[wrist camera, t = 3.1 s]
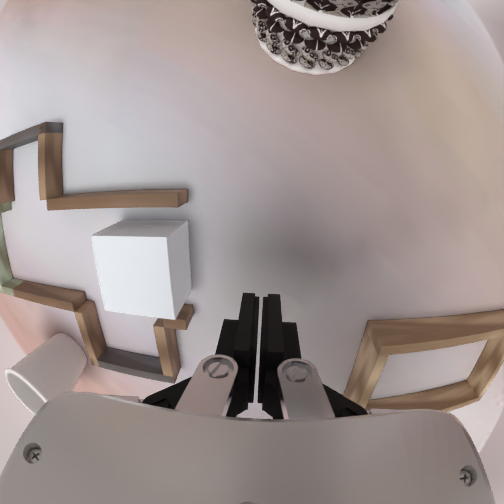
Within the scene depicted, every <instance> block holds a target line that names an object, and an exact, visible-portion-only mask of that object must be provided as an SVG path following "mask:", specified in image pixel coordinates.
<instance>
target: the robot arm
mask: <svg viewBox="0 0 504 504" xmlns="http://www.w3.org/2000/svg"><path fill="white" fill-rule="evenodd" d="M258 316H259V297H256V296H255V293H243V296H242V302H241V308H240V314H239V320H229V319H224V321H223V325H222V329H221V333H220V337H219V341H218V345H217V349H216V354H215V355H211V356H208V357H206V358H204V359H203V360H202V361H201V362H200V363H199V365H198V367H197V369H196V371H195V372H194V374H193V376H192V377H190V378H188V379H186V380H183V381H181V382H179V383H177V384H175V385H173V386H170V387H168V388H166V389H163V390H161V391H159V392H157V393H154V394H152V395H150V396H148V397H146V398H145V399H140V398H139V397H135V396H117V395H105V394H97V393H90V392H65V393H60V394H57V395H55V396H53V397H52V398H50V399H49V400H48V401H47V402H46V403H45V404H44V405H43V406H42V407H41V408H40V410H39V411H38V412H37V413H36V415H35V416H34V417H33V419H32V420H31V422H30V423H29V425H28V426H27V428H26V429H25V431H24V432H23V434H22V436H21V438H20V439H19V441H18V443H17V444H16V446H15V448H14V450H13V452H12V454H11V456H10V458H9V460H8V461H7V464H6V466H5V467H4V469H3V472H2V474H1V476H0V504H495V501H494V497H493V493H492V490H491V487H490V484H489V481H488V478H487V475H486V472H485V469H484V466H483V464H482V461H481V458H480V456H479V454H478V452H477V449H476V447H475V445H474V443H473V441H472V439H471V437H470V435H469V434H468V432H467V430H466V429H465V427H464V426H463V424H462V423H461V422H460V421H459V420H458V419H457V418H456V417H455V416H454V415H452V414H450V413H448V412H444V411H440V410H431V409H411V410H395V409H373V408H372V409H371V410H370V411H366V410H365V409H364V408H363V407H362V406H360V405H358V404H357V403H355V402H353V401H351V400H350V399H348V398H346V397H344V396H343V395H341V394H339V393H338V392H336V391H334V390H333V389H331V388H329V387H328V386H326V385H324V384H323V383H322V382H321V380H320V377H319V375H318V372H317V370H316V368H315V366H314V365H313V364H312V363H310V362H309V361H306V360H304V359H301V353H300V346H299V339H298V332H297V325H296V323H291V322H282V314H281V301H280V294H268V297H263V310H262V326H261V342H260V363H259V383H258V403H263V404H262V410H264V411H265V412H267V413H268V414H269V415H270V416H271V419H254V418H238V414H240V413H241V412H243V411H245V410H248V403H253V399H254V384H255V368H256V352H257V335H258Z"/></svg>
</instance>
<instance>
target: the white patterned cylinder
mask: <svg viewBox="0 0 504 504" xmlns="http://www.w3.org/2000/svg"><path fill="white" fill-rule="evenodd" d="M400 1H401V0H251V2H253V3H254V5H253V7H252V10H251V13H252V15H253V17H254V18H253V24H254V26H255V27H256V28H255V32H256V35H257V38H258V40H259V43H260V46H261V48H262V49H263V50H264V51H265V52H266V53H267V54H268V55H269V56H270V57H271V58H272V59H273V60H274V61H275V62H277V63H279V64H281V65H283V66H285V67H287V68H289V69H290V70H292V71H294V72H300V73H306V74H311V75H322V74H330V73H336V72H338V71H340V70H342V69H343V68H345V67H347V66H349V65H350V64H352V63H353V61H354V59H355V58H359V57H360V56H361V52H360V50H361V51H366V50H367V49H368V42H374V41H375V40H376V38H377V33H383V32H384V31H385V30H386V22H385V21H389V20H391V19H392V18H393V12H394V10H395V9H396V7H397V5H398V4H399V2H400ZM367 41H368V42H367Z"/></svg>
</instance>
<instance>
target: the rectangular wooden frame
mask: <svg viewBox="0 0 504 504" xmlns="http://www.w3.org/2000/svg"><path fill="white" fill-rule="evenodd" d="M486 339H488V342H487V344H486V346H485V348H484V350H483V352H482V354H481V356H480V358H479V360H478V361H477V363H476V365H475V367H474V369H473V370H472V372H471V374H470V376H469V377H468V379H467V380H466V381H462V382H459V383H455V384H451V385H448V386H444V387H440V388H436V389H431V390H427V391H422V392H417V393H412V394H407V395H401V396H395V397H389V398H382V399H375V400H369V399H370V397H371V395H372V393H373V391H374V388H375V386H376V384H377V382H378V379H379V377H380V375H381V372H382V370H383V368H384V365H385V363H386V360H387V358H388V355H392V354H402V353H410V352H419V351H426V350H433V349H440V348H446V347H452V346H457V345H463V344H468V343H473V342H477V341H482V340H486ZM503 361H504V309H502V310H496V311H488V312H480V313H472V314H463V315H453V316H442V317H429V318H415V319H396V320H369V321H368V322H367V326H366V329H365V333H364V336H363V339H362V343H361V346H360V349H359V352H358V355H357V359H356V362H355V365H354V368H353V370H352V373H351V376H350V379H349V382H348V384H347V387H346V390H345V392H344V395H343V396H344V397H346V398H348V399H350V400H351V401H353V402H355V403H357V404H358V405H360V406H362V407H363V408H364V409H365V410H366V411H370V410H371V409H372V408H373V409H395V410H411V409H431V410H440V411H444V412H449V411H452V410H455V409H458V408H460V407H463V406H466V405H469V404H471V403H474V402H477V401H479V400H480V399H481V397H482V396H483V394H484V393H485V391H486V390H487V388H488V387H489V385H490V383H491V382H492V380H493V379H494V377H495V375H496V374H497V372H498V370H499V369H500V367H501V365H502V363H503Z"/></svg>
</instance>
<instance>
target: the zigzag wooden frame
mask: <svg viewBox="0 0 504 504" xmlns="http://www.w3.org/2000/svg"><path fill="white" fill-rule="evenodd" d="M62 129H63V123H54V122H44V123H42V124H39V125H36V126H33V127H31V128H28V129H26V130H23V131H21V132H18V133H16V134H14V135H11V136H9V137H7V138H5V139H2V140H0V292H2V293H5V294H8V295H11V296H15V297H18V298H22V299H25V300H29V301H32V302H36V303H40V304H44V305H48V306H52V307H56V308H60V309H64V310H69V311H73V312H74V313H75V316H76V319H77V323H78V326H79V329H80V332H81V335H82V338H83V341H84V344H85V346H86V349H87V352H88V355H89V357H90V360H91V362H92V365H95V366H98V367H102V368H105V369H109V370H113V371H117V372H121V373H125V374H129V375H133V376H138V377H143V378H147V379H152V380H157V381H163V382H169V383H174V384H175V381H176V379H177V376H178V374H179V371H180V368H181V365H180V359H179V353H178V347H177V340H176V334H175V329H181V330H187V328H188V325H189V323H190V321H191V319H192V317H193V305H189V304H184V305H183V306H182V308H181V310H180V312H179V314H178V316H177V317H176V319H175V320H172V319H163V318H158V319H157V321H156V322H155V324H154V325H153V328H154V333H155V338H156V343H157V348H158V353H159V357H160V358H159V357H154V356H148V355H142V354H137V353H132V352H127V351H122V350H118V349H113V348H109V347H107V346H106V343H105V340H104V337H103V333H102V330H101V326H100V323H99V319H98V315H97V312H96V308H95V304H94V301H89V300H87V299H86V295H85V292H84V291H78V290H72V289H66V288H60V287H55V286H49V285H44V284H39V283H34V282H29V281H24V280H19V279H14V278H13V276H12V272H11V268H10V264H9V260H8V255H7V250H6V245H5V240H4V234H3V227H2V220H1V213H2V212H5V211H8V210H11V201H14V200H15V198H14V184H13V149H14V148H17V147H19V146H22V145H25V144H28V143H31V142H34V141H37V140H38V176H39V194H40V200H47V210H66V209H91V208H132V207H179V206H181V205H183V204H185V203H187V202H188V189H154V190H126V191H107V192H91V193H78V194H66V195H63V182H62Z"/></svg>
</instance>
